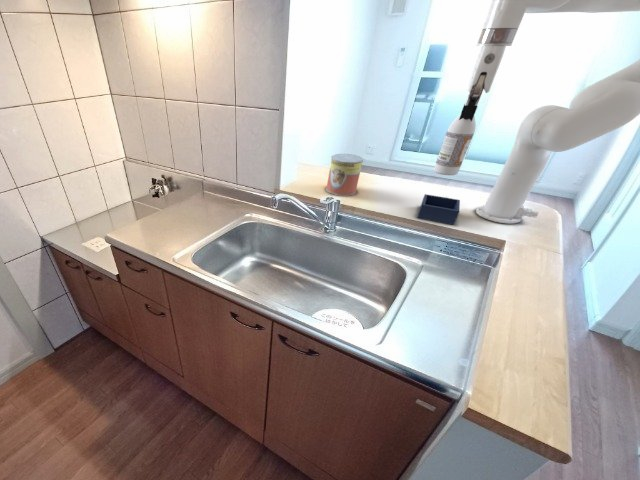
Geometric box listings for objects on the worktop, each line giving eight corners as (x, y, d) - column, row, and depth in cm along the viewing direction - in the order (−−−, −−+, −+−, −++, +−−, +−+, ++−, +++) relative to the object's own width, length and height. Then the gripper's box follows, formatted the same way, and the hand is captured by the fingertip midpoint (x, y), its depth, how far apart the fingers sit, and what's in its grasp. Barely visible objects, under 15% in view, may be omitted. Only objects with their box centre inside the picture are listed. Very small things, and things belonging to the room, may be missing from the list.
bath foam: (452, 177, 98) (483, 100, 85) (429, 172, 102) (455, 98, 89) (460, 172, 101) (491, 98, 89) (438, 167, 105) (464, 95, 93)
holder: (454, 212, 109) (459, 199, 106) (453, 224, 102) (459, 211, 99) (420, 206, 113) (424, 194, 110) (417, 217, 106) (422, 204, 103)
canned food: (320, 190, 125) (325, 158, 117) (334, 183, 132) (340, 152, 124) (347, 198, 119) (354, 164, 112) (360, 190, 126) (368, 157, 118)
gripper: (517, 38, 74) (480, 127, 86) (511, 38, 85) (479, 117, 97) (479, 38, 77) (448, 124, 89) (478, 39, 88) (451, 115, 100)
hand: (465, 120), depth 92 cm, fingers closed on bath foam, 2 cm apart
